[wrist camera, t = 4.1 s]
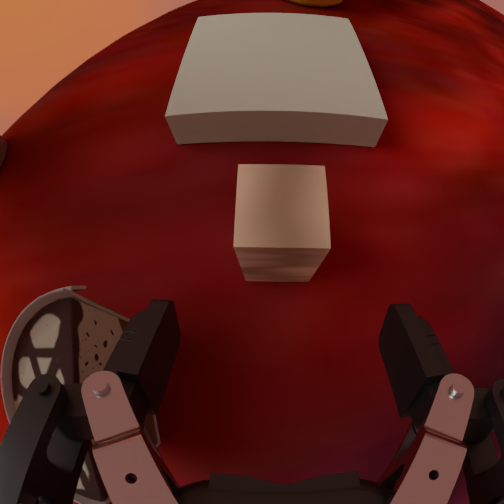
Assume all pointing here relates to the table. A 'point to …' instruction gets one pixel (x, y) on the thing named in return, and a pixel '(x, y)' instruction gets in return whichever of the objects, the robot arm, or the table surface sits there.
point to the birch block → (281, 221)
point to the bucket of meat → (315, 3)
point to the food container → (64, 360)
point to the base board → (275, 82)
